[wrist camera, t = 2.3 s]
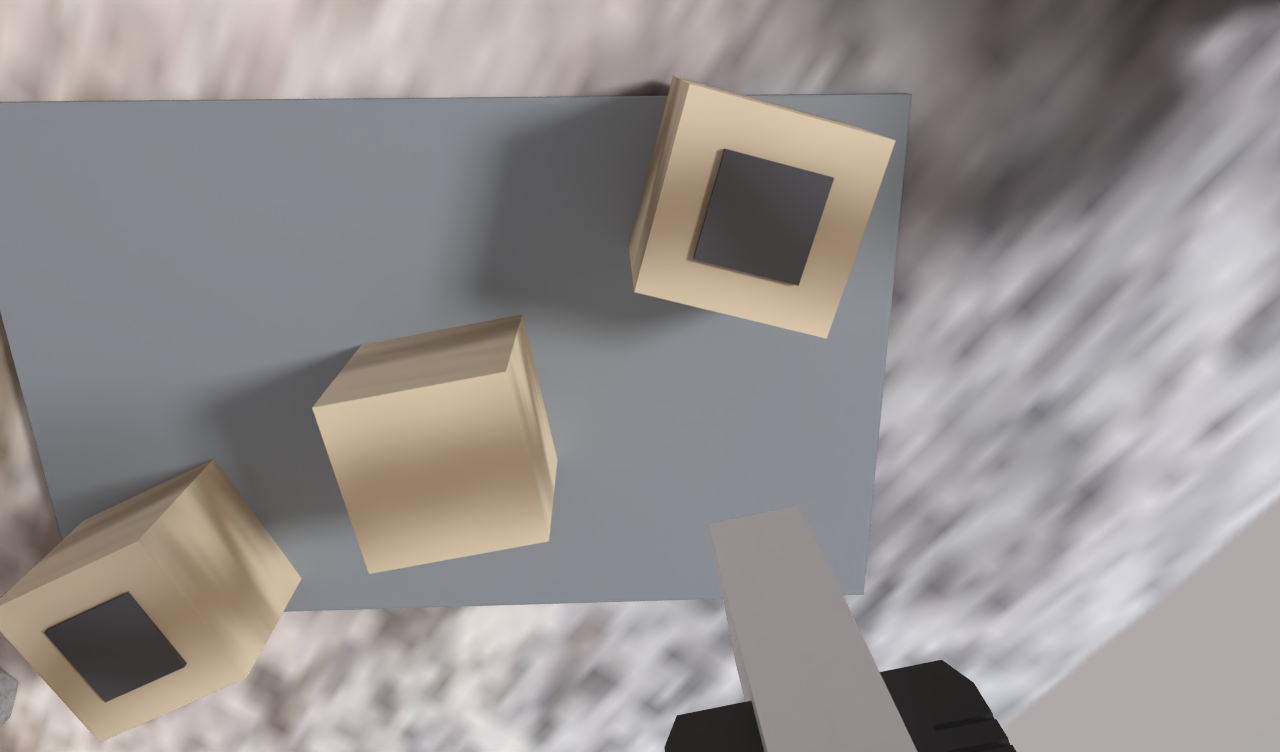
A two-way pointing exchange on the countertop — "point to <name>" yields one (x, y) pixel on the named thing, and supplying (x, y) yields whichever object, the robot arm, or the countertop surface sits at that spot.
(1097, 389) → the countertop surface
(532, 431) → the plain block
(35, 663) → the labelled block
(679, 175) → the labelled block
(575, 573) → the mat
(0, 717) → the figurine
